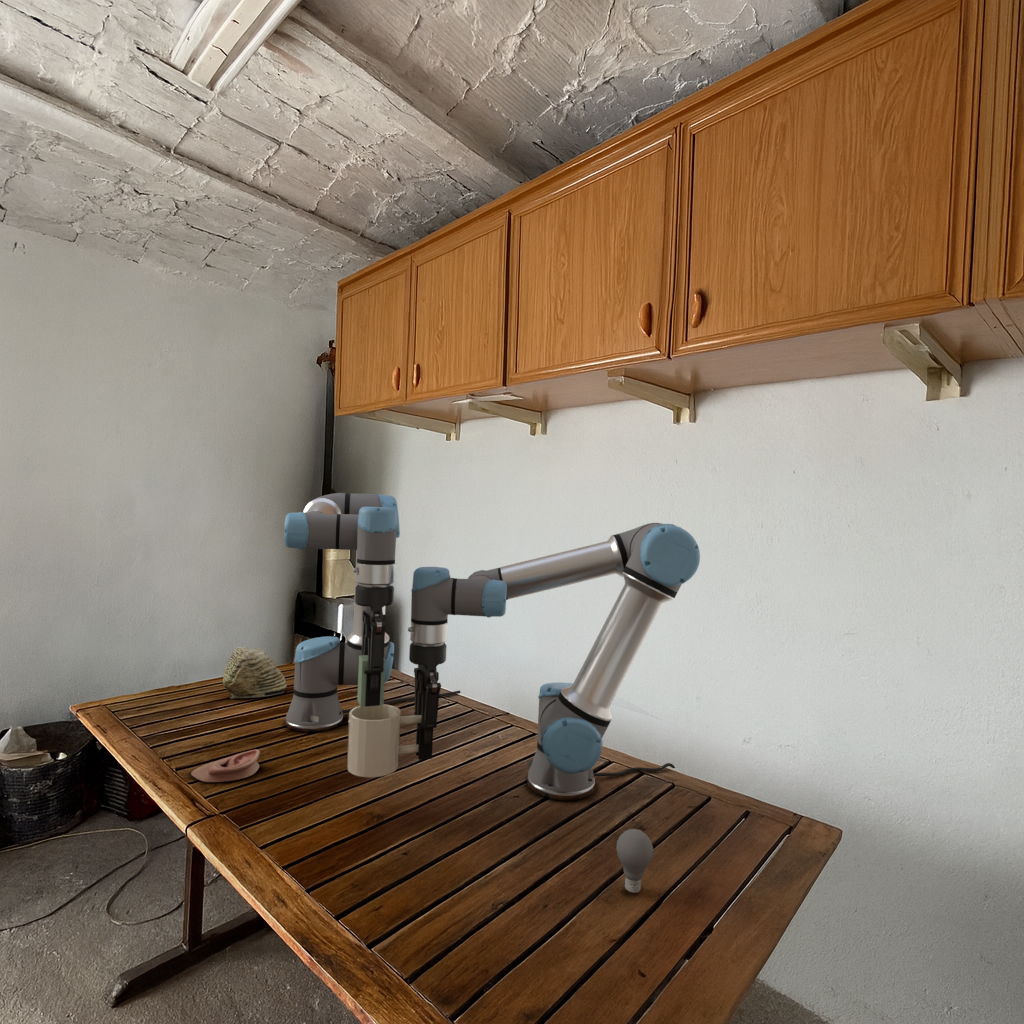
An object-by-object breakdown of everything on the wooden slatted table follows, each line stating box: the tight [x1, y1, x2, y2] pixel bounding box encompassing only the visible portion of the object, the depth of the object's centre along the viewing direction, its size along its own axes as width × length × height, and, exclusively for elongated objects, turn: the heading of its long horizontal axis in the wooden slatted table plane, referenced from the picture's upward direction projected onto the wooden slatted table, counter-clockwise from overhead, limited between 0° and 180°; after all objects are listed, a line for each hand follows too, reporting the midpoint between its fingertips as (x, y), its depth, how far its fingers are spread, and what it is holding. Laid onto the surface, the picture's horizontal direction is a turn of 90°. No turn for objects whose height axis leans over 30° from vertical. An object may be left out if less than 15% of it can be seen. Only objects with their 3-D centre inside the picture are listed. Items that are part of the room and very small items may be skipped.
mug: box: [346, 704, 421, 778], centre depth 128 cm, size 16×10×11 cm, turn 111°
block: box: [356, 655, 385, 707], centre depth 126 cm, size 4×4×9 cm
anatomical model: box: [190, 748, 261, 783], centre depth 143 cm, size 13×4×12 cm
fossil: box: [222, 646, 288, 699], centre depth 198 cm, size 9×18×15 cm, turn 132°
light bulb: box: [615, 828, 654, 894], centre depth 106 cm, size 6×6×10 cm
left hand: (370, 701), depth 126 cm, fingers closed on block, 4 cm apart
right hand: (423, 756), depth 130 cm, fingers closed on mug, 2 cm apart
